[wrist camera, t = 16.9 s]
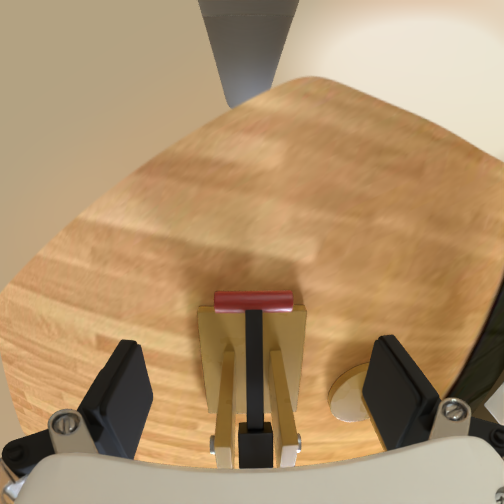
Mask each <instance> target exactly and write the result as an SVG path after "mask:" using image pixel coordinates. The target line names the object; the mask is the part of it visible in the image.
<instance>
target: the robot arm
mask: <svg viewBox="0 0 504 504" xmlns="http://www.w3.org/2000/svg"><path fill="white" fill-rule="evenodd" d="M362 394H363V397H364V399H365V401H366V404H367V406H368V408H369V410H370V412H371V415H372V417H373V419H374V421H375V424H376V426H377V428H378V430H379V433H380V435H381V437H382V439H383V442H384V444H385V446H386V449H387V451H386V452H382V453H377V454H373V455H368V456H363V457H359V458H353V459H348V460H342V461H336V462H329V463H322V464H314V465H305V466H295V467H283V468H264V469H217V468H198V467H186V466H176V465H167V464H159V463H151V462H144V461H138V460H133V459H134V456H135V453H136V450H137V447H138V444H139V440H140V437H141V434H142V431H143V428H144V425H145V422H146V419H147V416H148V413H149V410H150V407H151V404H152V401H153V392H152V388H151V385H150V381H149V377H148V373H147V369H146V365H145V361H144V357H143V352H142V348H141V345H139V344H137V342H136V341H134V340H121V341H120V342H119V344H118V346H117V347H116V349H115V350H114V352H113V354H112V355H111V357H110V358H109V360H108V362H107V363H106V365H105V367H104V368H103V369H102V370H101V371H100V372H99V374H98V375H97V377H96V379H95V380H94V382H93V384H92V385H91V387H90V389H89V390H88V392H87V394H86V395H85V397H84V399H83V400H82V402H81V404H80V406H79V407H78V409H77V411H76V410H73V409H63V410H59V411H57V412H55V413H54V414H53V415H52V416H51V417H50V418H49V421H48V429H46V430H43V431H41V432H38V433H35V434H32V435H29V436H26V437H23V438H19V439H16V440H13V441H11V442H9V443H8V444H7V445H6V446H5V447H4V448H3V451H2V458H0V504H504V426H503V425H500V424H496V423H493V422H489V421H485V420H482V419H478V418H475V417H471V409H470V407H469V406H468V404H467V403H466V402H464V401H463V400H460V399H458V398H447V399H444V400H443V401H441V399H440V398H439V394H438V393H437V391H436V390H435V389H434V387H433V386H432V385H431V383H430V382H429V380H428V379H427V378H426V376H425V375H424V374H423V372H422V371H421V370H420V368H419V367H418V366H417V364H416V363H415V362H414V360H413V359H412V358H411V357H410V355H409V354H408V353H407V351H406V350H405V349H404V347H403V346H402V345H401V344H400V342H399V341H398V340H397V338H396V337H395V336H394V335H385V336H380V337H379V338H378V340H376V341H375V342H374V346H373V350H372V355H371V359H370V362H369V366H368V370H367V374H366V377H365V381H364V385H363V388H362Z"/></svg>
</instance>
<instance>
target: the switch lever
mask: <svg viewBox="0 0 504 504" xmlns="http://www.w3.org/2000/svg"><path fill="white" fill-rule="evenodd" d="M214 310H215V313H245V343H246V407H247V422H242V423H239V430H238V447H239V469H264V468H273V430H272V426H271V423H270V422H264V379H263V313H282V312H292V310H293V293H292V291H291V290H281V291H216V292H215V293H214Z"/></svg>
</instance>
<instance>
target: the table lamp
mask: <svg viewBox="0 0 504 504" xmlns="http://www.w3.org/2000/svg"><path fill="white" fill-rule="evenodd" d="M368 366H369V363H364V364H361V365H358V366H356V367H354V368H352V369H350V370H349V371H347V372H346V373H344V374H343V375H342V376H340V377H339V378H338V379H337V380H336V382H335V383H334V384H333V386H332V387H331V389H330V391H329V395H328V403H329V407H330V410H331V412H332V414H333V415H334V416H335V417H336V418H337V419H339V420H342V421H346V422H356V421H362V420H365V419H368V418H370V421H371V423H372V425H373V427H374V429H375V432H376V434H377V436H378V438H379V441H380V443H381V445H382V447H383V450H384V452H386V451H387V449H386V446H385V444H384V442H383V439H382V437H381V435H380V433H379V430H378V428H377V426H376V424H375V421H374V419H373V417H372V415H371V412H370V410H369V408H368V406H367V404H366V401H365V399H364V397H363V394H362V388H363V385H364V381H365V377H366V374H367V370H368Z"/></svg>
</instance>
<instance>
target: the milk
mask: <svg viewBox="0 0 504 504" xmlns="http://www.w3.org/2000/svg"><path fill="white" fill-rule="evenodd" d="M484 405H485V407H486V408H487V409H488V410H489V412H490V413H491V414H492V415H493V416H494V418H495V419H496V420H497V421H498V422H499V424H500V425H503V426H504V382H503V383H502V385H501V386H500V387H499V388H498V389H497V391H496V392H495V393H494V394H493V395H492V396H491V397H490V398H489V400H488V401H487V402H486V403H485V404H484Z"/></svg>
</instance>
